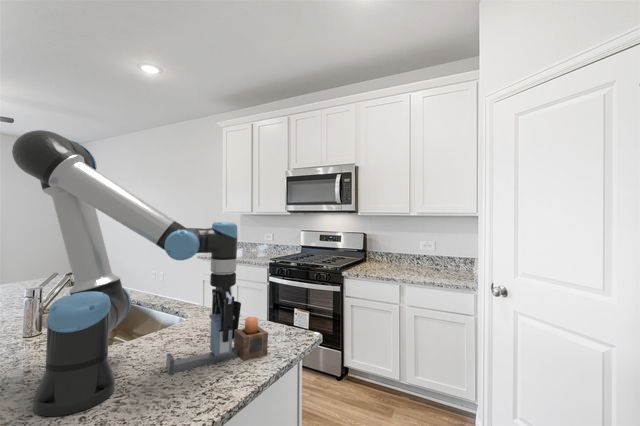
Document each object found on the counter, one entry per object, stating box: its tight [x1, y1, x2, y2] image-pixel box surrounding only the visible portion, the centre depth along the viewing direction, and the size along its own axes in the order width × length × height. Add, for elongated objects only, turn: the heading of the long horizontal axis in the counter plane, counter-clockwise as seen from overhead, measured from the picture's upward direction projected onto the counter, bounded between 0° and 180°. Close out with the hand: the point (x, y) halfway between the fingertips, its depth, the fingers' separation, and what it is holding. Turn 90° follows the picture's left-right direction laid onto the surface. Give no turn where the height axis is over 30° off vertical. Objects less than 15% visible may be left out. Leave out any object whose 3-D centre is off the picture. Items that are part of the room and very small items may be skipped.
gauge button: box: [244, 316, 259, 334], centre depth 100 cm, size 4×4×4 cm
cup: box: [232, 300, 242, 340], centre depth 113 cm, size 8×8×12 cm
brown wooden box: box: [233, 325, 269, 362], centre depth 100 cm, size 8×8×7 cm
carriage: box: [208, 313, 235, 356], centre depth 96 cm, size 6×6×11 cm
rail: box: [165, 346, 240, 376], centre depth 93 cm, size 21×5×4 cm, turn 126°
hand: (220, 348), depth 96 cm, fingers closed on carriage, 5 cm apart
